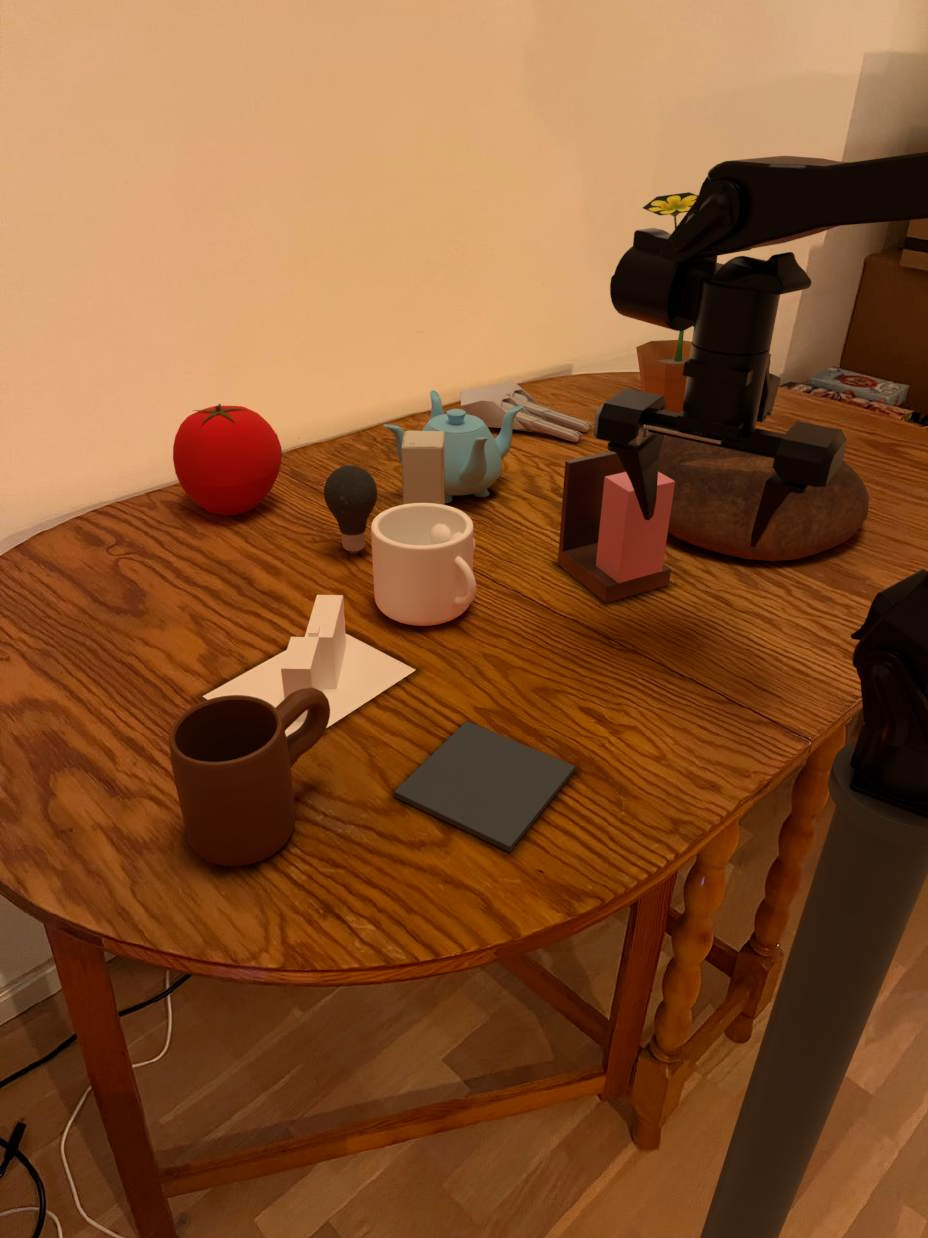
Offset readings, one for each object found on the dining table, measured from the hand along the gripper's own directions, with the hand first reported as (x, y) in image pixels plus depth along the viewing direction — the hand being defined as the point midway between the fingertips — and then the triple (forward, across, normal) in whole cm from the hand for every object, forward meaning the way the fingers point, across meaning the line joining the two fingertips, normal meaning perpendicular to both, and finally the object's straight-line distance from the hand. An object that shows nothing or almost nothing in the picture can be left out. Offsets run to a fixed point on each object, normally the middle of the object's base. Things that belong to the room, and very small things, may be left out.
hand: (700, 531), depth 77 cm
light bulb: (+13, +38, 0) cm, 40 cm away
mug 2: (+13, +24, +5) cm, 27 cm away
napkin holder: (+13, +26, +21) cm, 36 cm away
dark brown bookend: (+13, +12, -11) cm, 21 cm away
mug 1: (+13, +18, +35) cm, 42 cm away
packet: (+11, +10, -10) cm, 17 cm away
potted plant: (+13, +24, -59) cm, 65 cm away
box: (+13, +32, -5) cm, 34 cm away
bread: (+13, +5, -34) cm, 37 cm away
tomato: (+13, +57, -1) cm, 58 cm away
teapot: (+13, +37, -20) cm, 44 cm away
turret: (+13, +41, -44) cm, 62 cm away
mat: (+13, +6, +24) cm, 28 cm away
